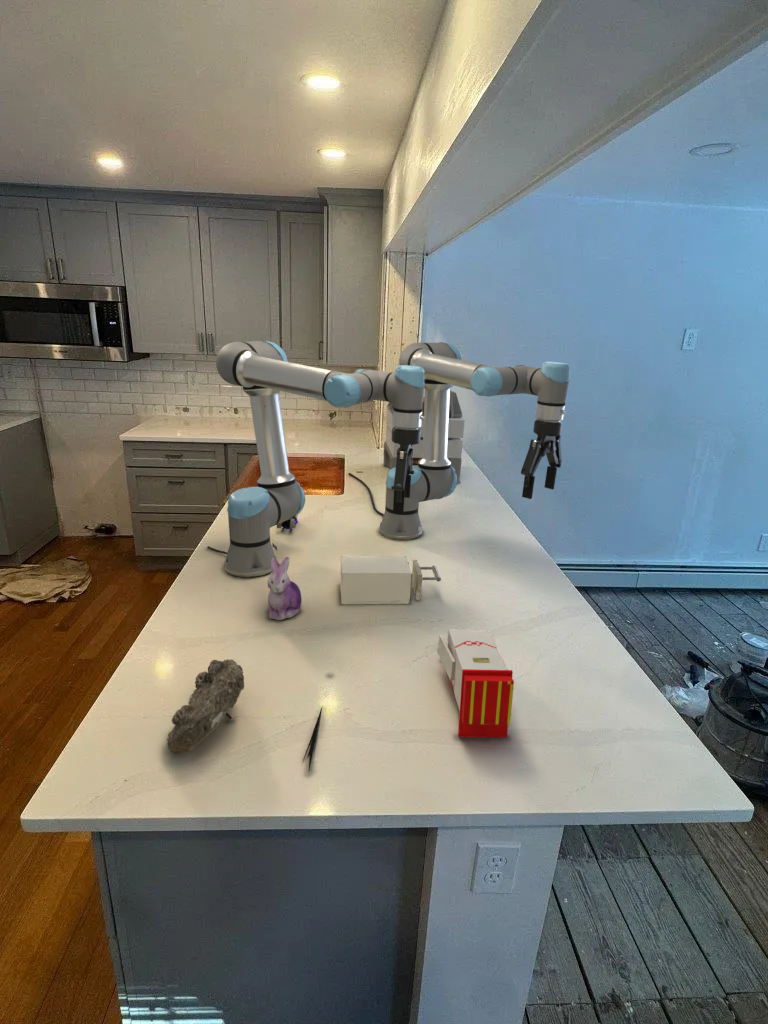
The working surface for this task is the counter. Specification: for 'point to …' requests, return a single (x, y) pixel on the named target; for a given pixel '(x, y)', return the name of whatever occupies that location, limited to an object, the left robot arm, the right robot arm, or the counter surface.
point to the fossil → (206, 705)
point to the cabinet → (375, 580)
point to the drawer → (421, 578)
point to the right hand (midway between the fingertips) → (538, 493)
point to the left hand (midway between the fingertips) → (401, 504)
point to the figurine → (282, 592)
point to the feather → (313, 740)
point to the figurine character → (288, 524)
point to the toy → (478, 682)
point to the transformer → (453, 437)
